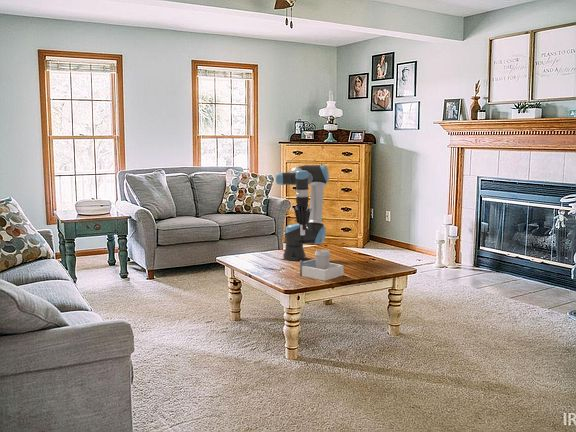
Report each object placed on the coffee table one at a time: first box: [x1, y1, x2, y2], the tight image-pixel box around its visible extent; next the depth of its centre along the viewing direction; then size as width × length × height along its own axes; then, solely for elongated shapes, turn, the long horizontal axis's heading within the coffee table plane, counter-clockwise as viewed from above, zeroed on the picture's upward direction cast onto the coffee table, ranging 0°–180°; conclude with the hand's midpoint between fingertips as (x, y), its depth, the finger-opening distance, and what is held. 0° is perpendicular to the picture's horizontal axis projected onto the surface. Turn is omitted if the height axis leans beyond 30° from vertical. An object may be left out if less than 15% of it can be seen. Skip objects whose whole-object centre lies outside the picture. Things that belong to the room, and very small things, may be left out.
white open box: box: [299, 260, 344, 282], centre depth 336 cm, size 19×18×9 cm
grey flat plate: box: [302, 258, 317, 268], centre depth 342 cm, size 13×1×7 cm, turn 136°
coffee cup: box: [314, 248, 332, 270], centre depth 335 cm, size 10×10×15 cm
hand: (302, 234), depth 345 cm, fingers closed
